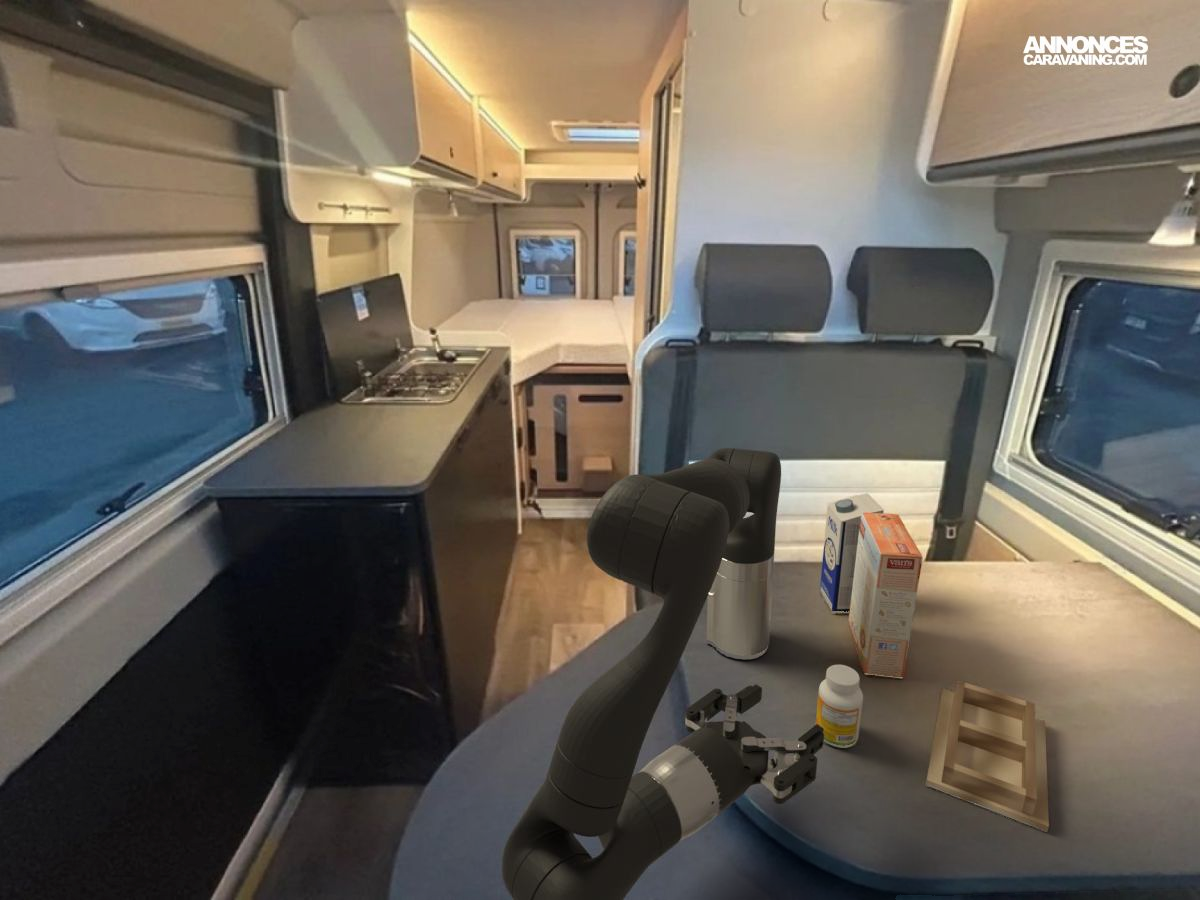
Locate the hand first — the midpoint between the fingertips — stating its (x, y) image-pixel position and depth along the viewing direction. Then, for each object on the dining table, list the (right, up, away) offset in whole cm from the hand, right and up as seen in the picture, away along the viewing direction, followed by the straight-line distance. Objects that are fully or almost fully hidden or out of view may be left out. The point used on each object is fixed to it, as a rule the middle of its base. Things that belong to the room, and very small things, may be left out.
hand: (788, 711), depth 73 cm
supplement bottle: (+9, -8, +10) cm, 16 cm away
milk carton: (+22, +3, +38) cm, 44 cm away
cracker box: (+22, -1, +26) cm, 34 cm away
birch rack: (+27, -8, +6) cm, 29 cm away
